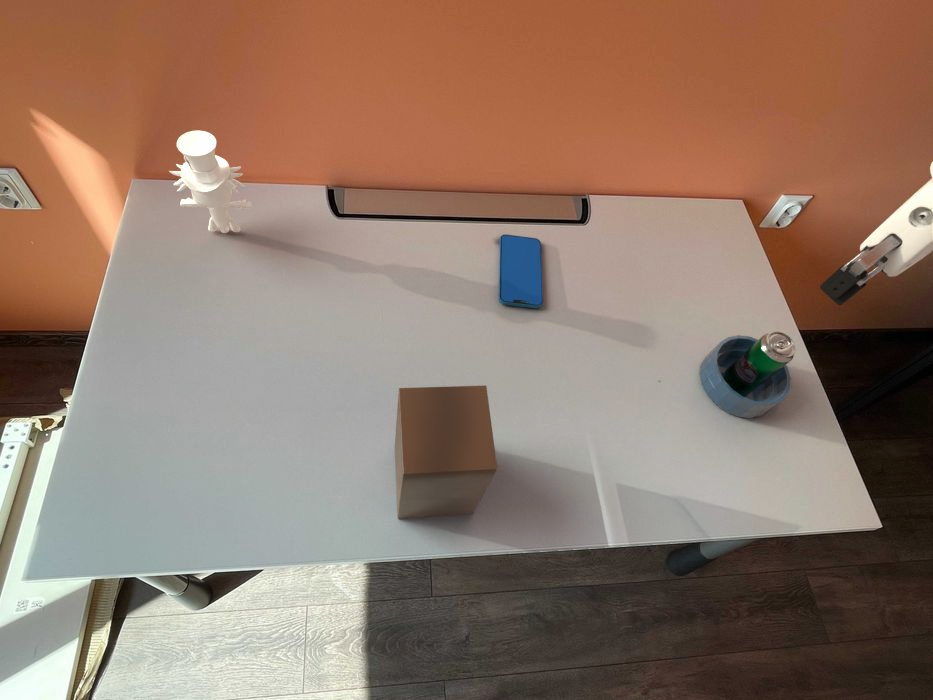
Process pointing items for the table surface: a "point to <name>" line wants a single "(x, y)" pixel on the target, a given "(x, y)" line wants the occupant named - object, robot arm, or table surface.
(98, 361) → the table surface
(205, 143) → the figurine
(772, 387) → the bowl
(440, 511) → the plinth
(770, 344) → the soda can
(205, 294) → the table surface
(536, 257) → the smartphone
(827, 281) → the robot arm
